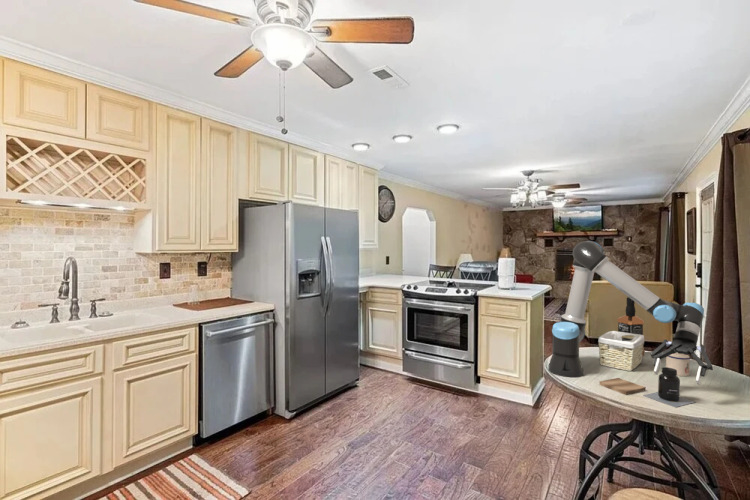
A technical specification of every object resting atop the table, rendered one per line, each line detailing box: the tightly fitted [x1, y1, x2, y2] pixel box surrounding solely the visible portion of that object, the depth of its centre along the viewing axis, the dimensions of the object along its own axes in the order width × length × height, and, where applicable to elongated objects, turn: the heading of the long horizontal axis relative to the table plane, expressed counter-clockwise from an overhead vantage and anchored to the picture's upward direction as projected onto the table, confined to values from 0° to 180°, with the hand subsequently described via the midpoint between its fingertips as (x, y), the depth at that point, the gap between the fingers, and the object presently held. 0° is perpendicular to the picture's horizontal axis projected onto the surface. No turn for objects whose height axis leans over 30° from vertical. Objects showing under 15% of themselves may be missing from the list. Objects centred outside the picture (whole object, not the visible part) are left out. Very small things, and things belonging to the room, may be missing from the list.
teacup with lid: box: [665, 353, 691, 377], centre depth 180 cm, size 12×9×12 cm
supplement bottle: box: [657, 366, 681, 402], centre depth 149 cm, size 7×7×12 cm
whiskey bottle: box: [617, 296, 645, 357], centre depth 210 cm, size 10×10×32 cm
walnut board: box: [599, 377, 646, 396], centre depth 161 cm, size 12×12×2 cm
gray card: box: [643, 391, 696, 408], centre depth 150 cm, size 12×12×1 cm
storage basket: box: [597, 330, 645, 372], centre depth 193 cm, size 24×16×15 cm
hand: (675, 377), depth 150 cm, fingers open, 13 cm apart
